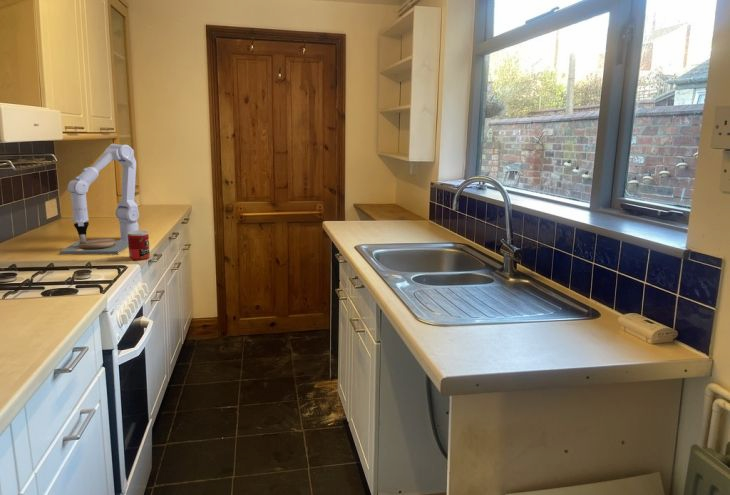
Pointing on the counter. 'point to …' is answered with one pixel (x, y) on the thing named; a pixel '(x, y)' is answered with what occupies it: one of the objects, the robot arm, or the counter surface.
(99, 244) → the dial
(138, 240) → the canned food
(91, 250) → the board
